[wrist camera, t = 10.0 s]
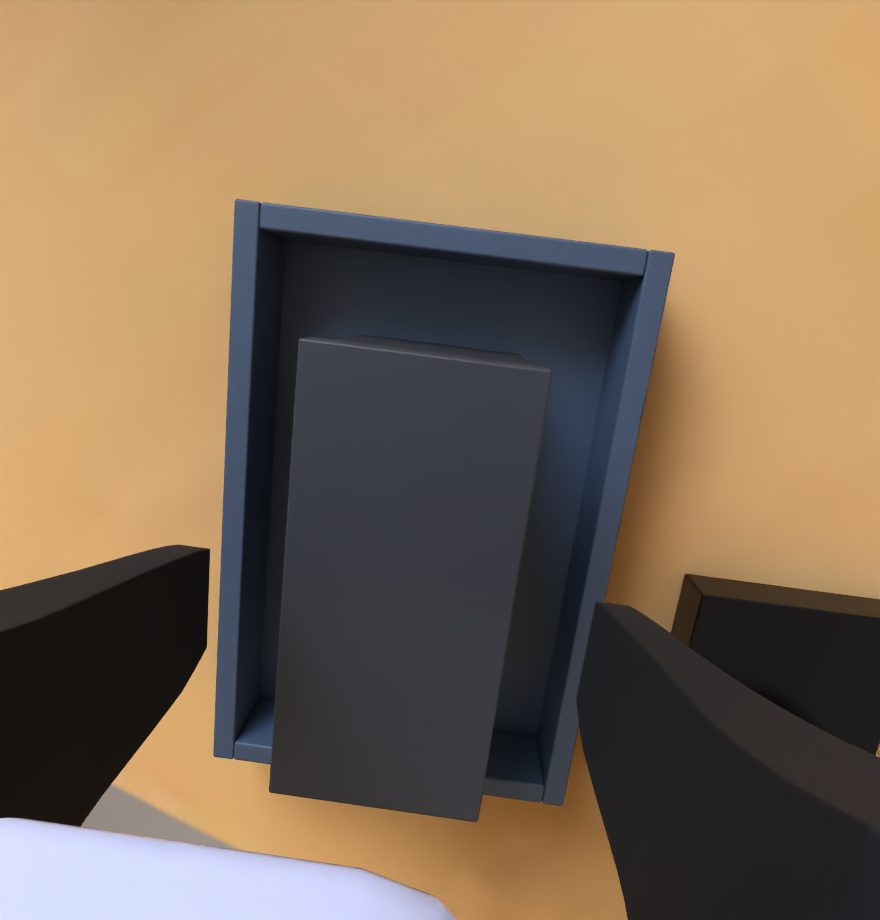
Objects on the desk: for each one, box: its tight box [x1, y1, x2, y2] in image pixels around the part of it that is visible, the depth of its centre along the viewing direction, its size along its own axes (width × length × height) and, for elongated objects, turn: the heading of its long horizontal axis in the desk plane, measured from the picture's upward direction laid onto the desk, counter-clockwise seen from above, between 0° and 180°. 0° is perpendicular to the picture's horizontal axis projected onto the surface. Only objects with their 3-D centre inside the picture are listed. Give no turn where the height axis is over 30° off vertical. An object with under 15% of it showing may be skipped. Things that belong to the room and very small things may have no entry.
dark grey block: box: [269, 334, 552, 822], centre depth 15 cm, size 5×10×6 cm, turn 173°
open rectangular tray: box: [213, 199, 675, 806], centre depth 17 cm, size 10×15×2 cm
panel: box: [671, 574, 880, 755], centre depth 18 cm, size 6×10×4 cm, turn 173°
